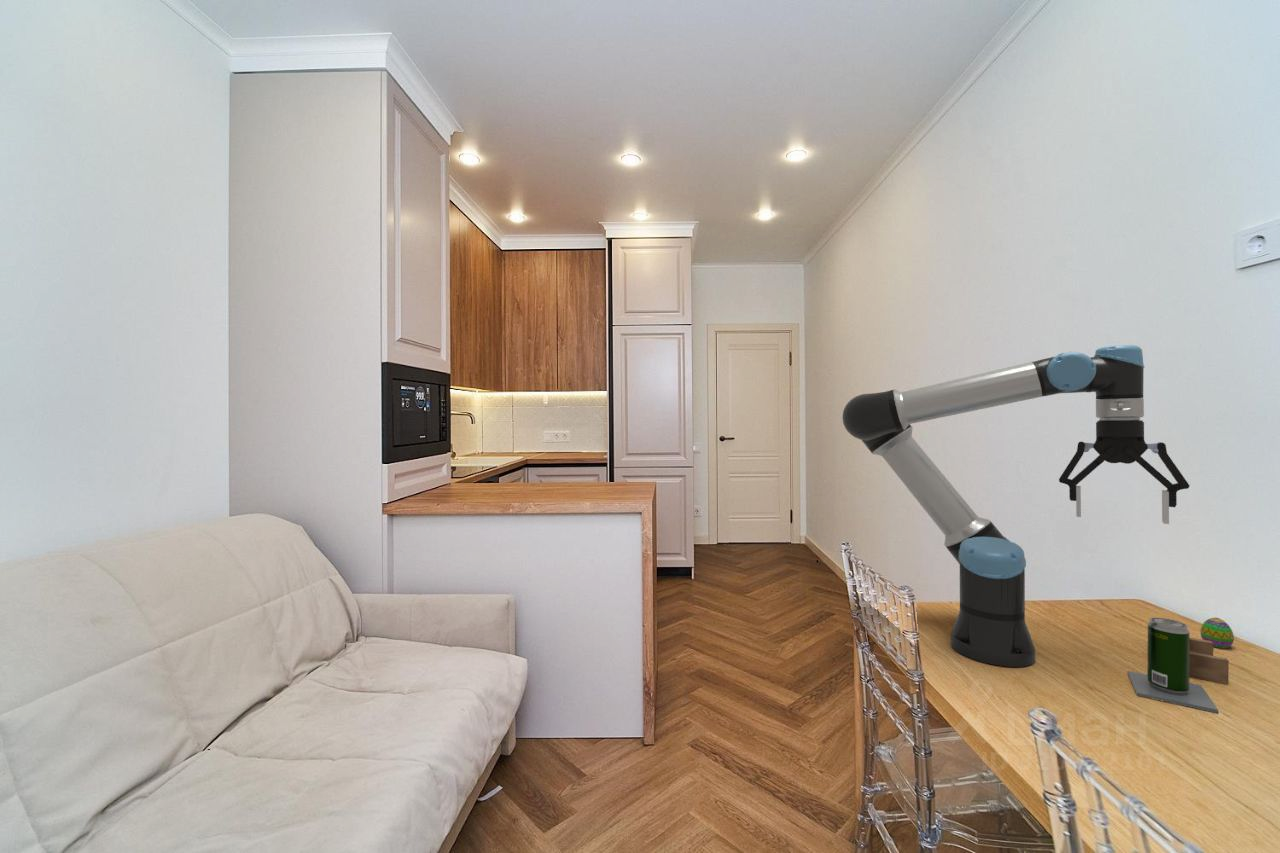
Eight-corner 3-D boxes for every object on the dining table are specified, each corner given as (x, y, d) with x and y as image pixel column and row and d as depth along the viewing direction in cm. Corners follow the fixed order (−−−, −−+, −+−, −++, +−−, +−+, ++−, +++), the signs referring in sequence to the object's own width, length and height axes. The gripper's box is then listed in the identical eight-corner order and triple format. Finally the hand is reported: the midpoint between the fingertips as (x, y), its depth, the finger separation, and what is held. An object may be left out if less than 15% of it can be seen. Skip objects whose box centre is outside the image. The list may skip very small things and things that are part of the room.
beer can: (1182, 698, 92) (1182, 630, 92) (1142, 685, 97) (1142, 620, 97) (1194, 690, 95) (1194, 624, 94) (1154, 678, 99) (1154, 615, 99)
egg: (1210, 639, 118) (1210, 613, 118) (1239, 648, 113) (1240, 621, 113) (1194, 641, 117) (1194, 615, 116) (1223, 651, 112) (1223, 623, 112)
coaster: (1137, 695, 94) (1137, 692, 94) (1127, 673, 102) (1127, 670, 102) (1218, 713, 88) (1218, 709, 88) (1201, 688, 97) (1201, 685, 97)
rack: (1161, 671, 103) (1161, 648, 103) (1150, 652, 112) (1150, 631, 111) (1228, 684, 98) (1228, 660, 98) (1211, 663, 106) (1211, 641, 106)
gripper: (1044, 420, 116) (1045, 515, 117) (1208, 418, 100) (1209, 529, 101) (1045, 420, 122) (1046, 511, 122) (1201, 418, 106) (1202, 522, 106)
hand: (1120, 519), depth 111 cm, fingers open, 13 cm apart
